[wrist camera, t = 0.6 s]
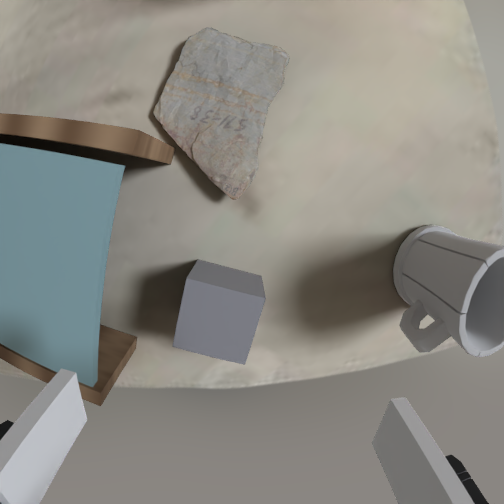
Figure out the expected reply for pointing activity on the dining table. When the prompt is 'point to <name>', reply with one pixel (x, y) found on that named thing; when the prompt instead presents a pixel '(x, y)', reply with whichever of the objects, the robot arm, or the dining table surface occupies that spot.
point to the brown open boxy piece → (103, 138)
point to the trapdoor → (54, 255)
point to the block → (219, 312)
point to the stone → (222, 104)
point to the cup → (451, 290)
